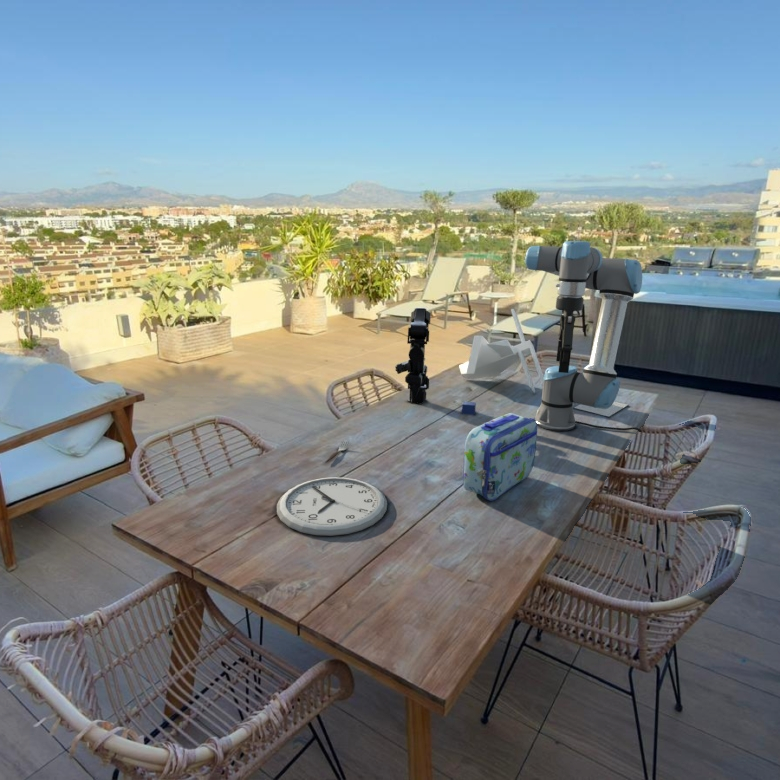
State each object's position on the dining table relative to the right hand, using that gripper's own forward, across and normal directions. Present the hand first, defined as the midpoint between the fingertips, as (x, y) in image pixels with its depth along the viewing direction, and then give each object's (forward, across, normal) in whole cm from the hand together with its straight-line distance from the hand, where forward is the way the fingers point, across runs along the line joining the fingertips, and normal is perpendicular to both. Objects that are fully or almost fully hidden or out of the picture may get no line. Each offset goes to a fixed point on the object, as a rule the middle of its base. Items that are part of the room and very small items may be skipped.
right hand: (561, 366), depth 158 cm
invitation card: (+33, -68, +24) cm, 80 cm away
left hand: (+25, -36, -52) cm, 68 cm away
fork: (+33, +11, -69) cm, 77 cm away
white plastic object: (+33, -86, -21) cm, 94 cm away
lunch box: (+33, +18, -15) cm, 41 cm away
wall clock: (+33, +42, -59) cm, 80 cm away
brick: (+33, -44, -31) cm, 63 cm away
